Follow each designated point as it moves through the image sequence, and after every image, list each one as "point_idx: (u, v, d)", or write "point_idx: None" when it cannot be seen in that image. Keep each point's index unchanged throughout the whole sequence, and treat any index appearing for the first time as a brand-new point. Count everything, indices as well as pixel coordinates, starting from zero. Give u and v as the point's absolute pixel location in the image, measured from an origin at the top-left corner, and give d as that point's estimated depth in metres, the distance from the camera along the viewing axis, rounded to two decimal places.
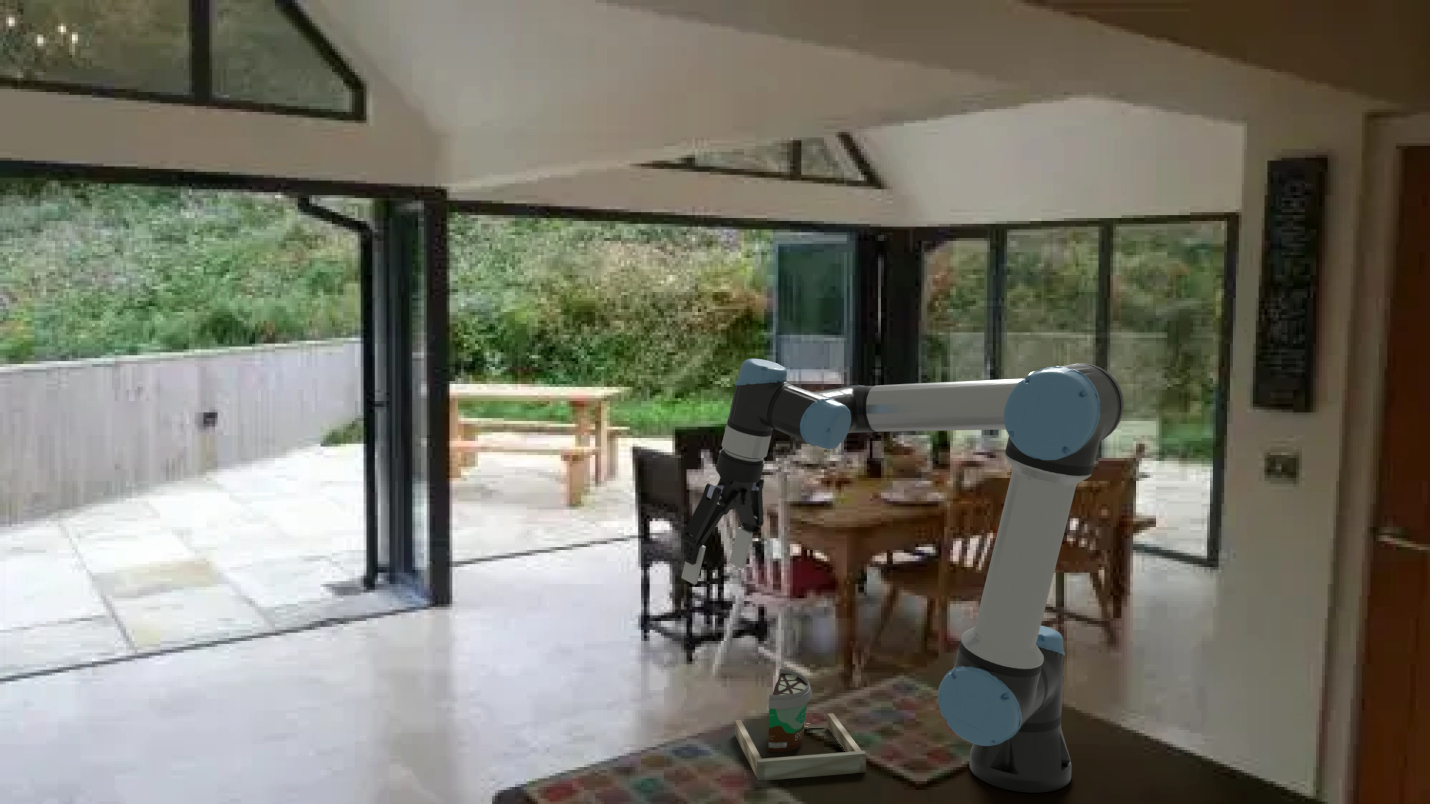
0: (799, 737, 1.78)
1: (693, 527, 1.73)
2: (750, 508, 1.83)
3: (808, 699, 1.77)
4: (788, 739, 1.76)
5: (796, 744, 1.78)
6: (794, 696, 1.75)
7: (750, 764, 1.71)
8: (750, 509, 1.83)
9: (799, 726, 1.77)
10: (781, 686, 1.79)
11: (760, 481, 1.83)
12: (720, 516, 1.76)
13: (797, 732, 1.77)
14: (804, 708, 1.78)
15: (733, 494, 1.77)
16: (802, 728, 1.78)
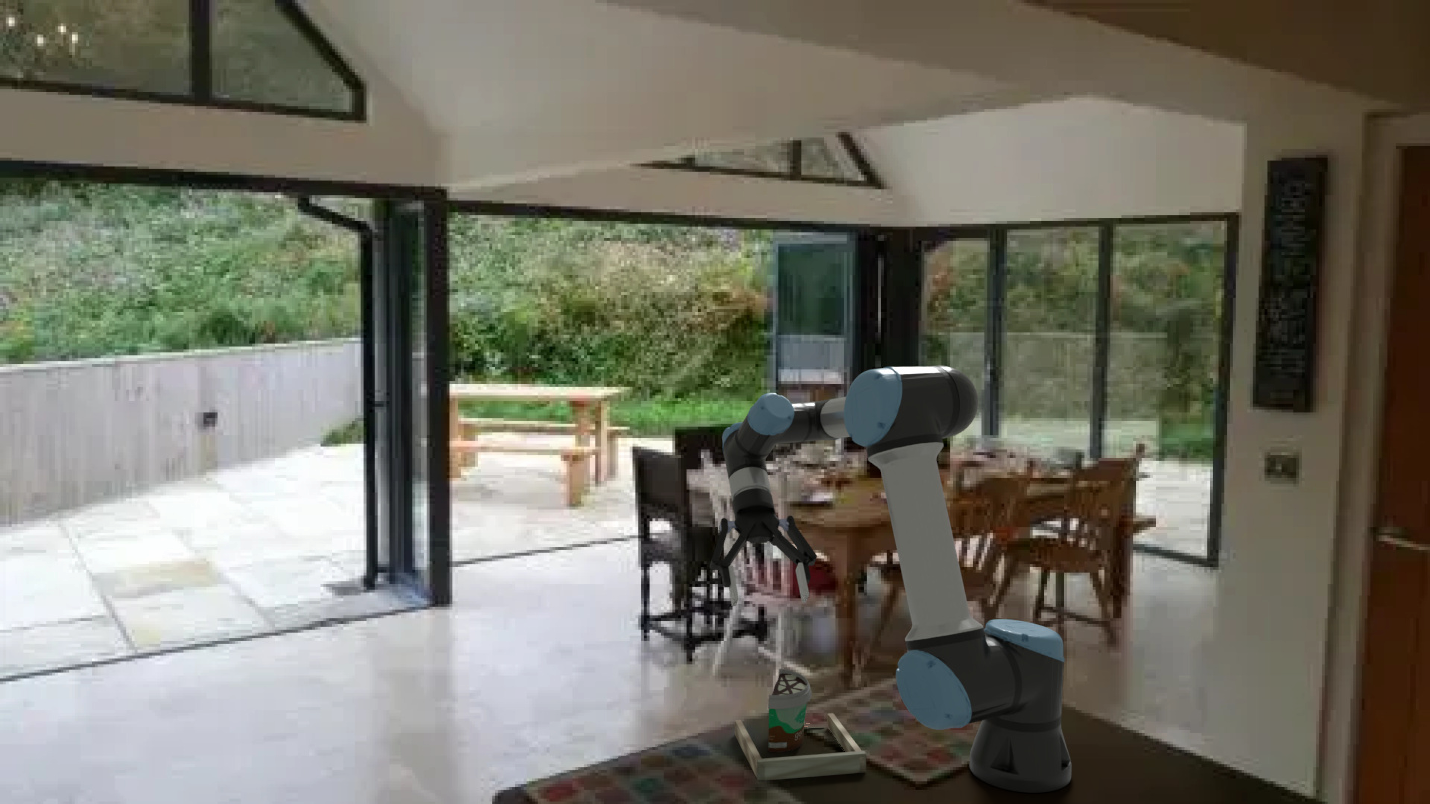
0: (799, 737, 1.78)
1: None
2: (785, 539, 1.99)
3: (808, 699, 1.77)
4: (788, 739, 1.76)
5: (796, 744, 1.78)
6: (794, 696, 1.75)
7: (750, 764, 1.71)
8: (785, 540, 1.99)
9: (799, 726, 1.77)
10: (780, 686, 1.79)
11: (787, 517, 2.02)
12: (740, 541, 1.97)
13: (797, 732, 1.77)
14: (804, 708, 1.78)
15: (747, 522, 2.00)
16: (802, 728, 1.78)
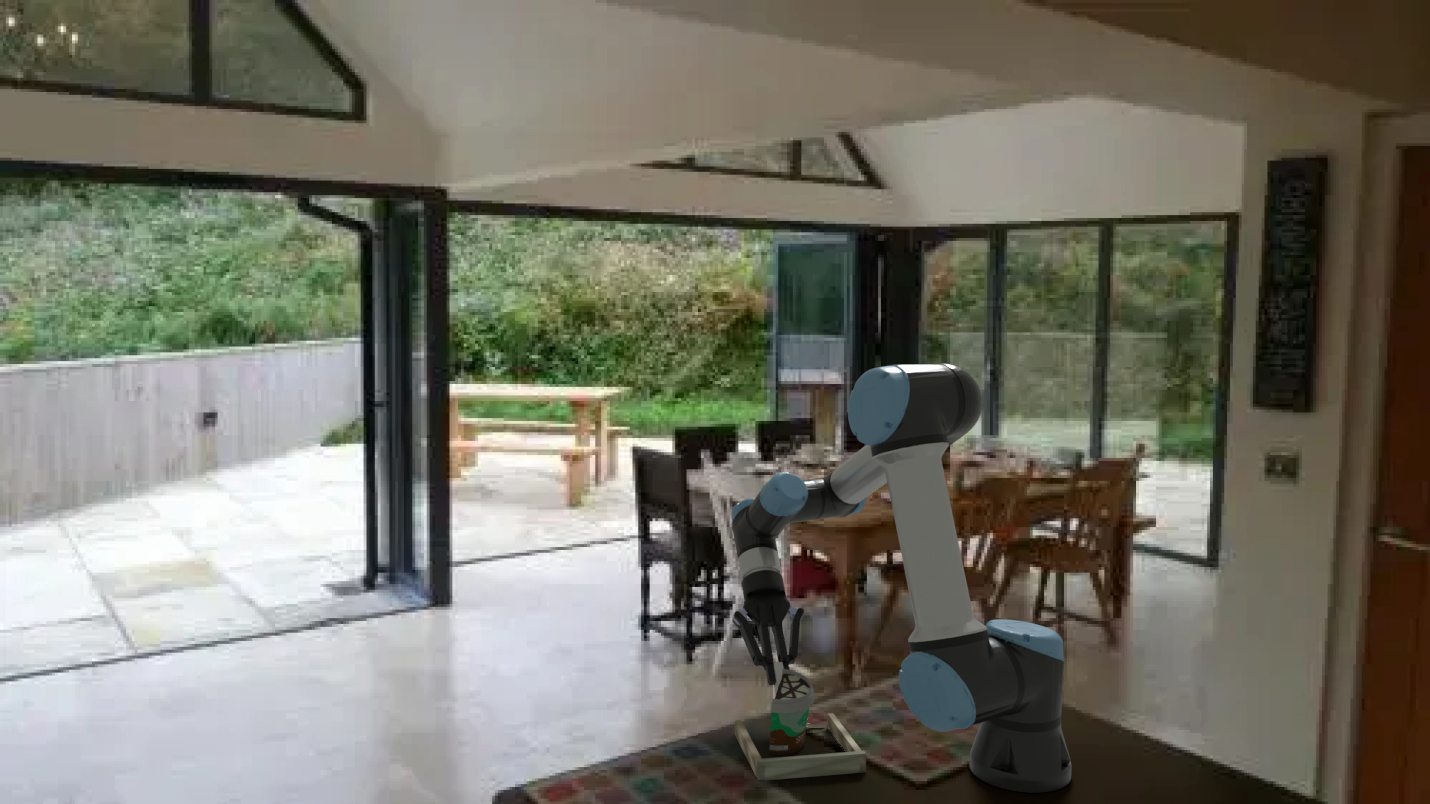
0: (800, 740, 1.77)
1: (750, 651, 1.90)
2: (781, 631, 1.91)
3: (811, 703, 1.75)
4: (789, 742, 1.75)
5: (797, 747, 1.77)
6: (797, 700, 1.73)
7: (750, 764, 1.71)
8: (781, 632, 1.91)
9: (801, 729, 1.76)
10: (784, 689, 1.77)
11: (799, 608, 1.95)
12: (765, 630, 1.91)
13: (799, 735, 1.76)
14: (806, 711, 1.76)
15: (758, 609, 1.93)
16: (804, 731, 1.77)
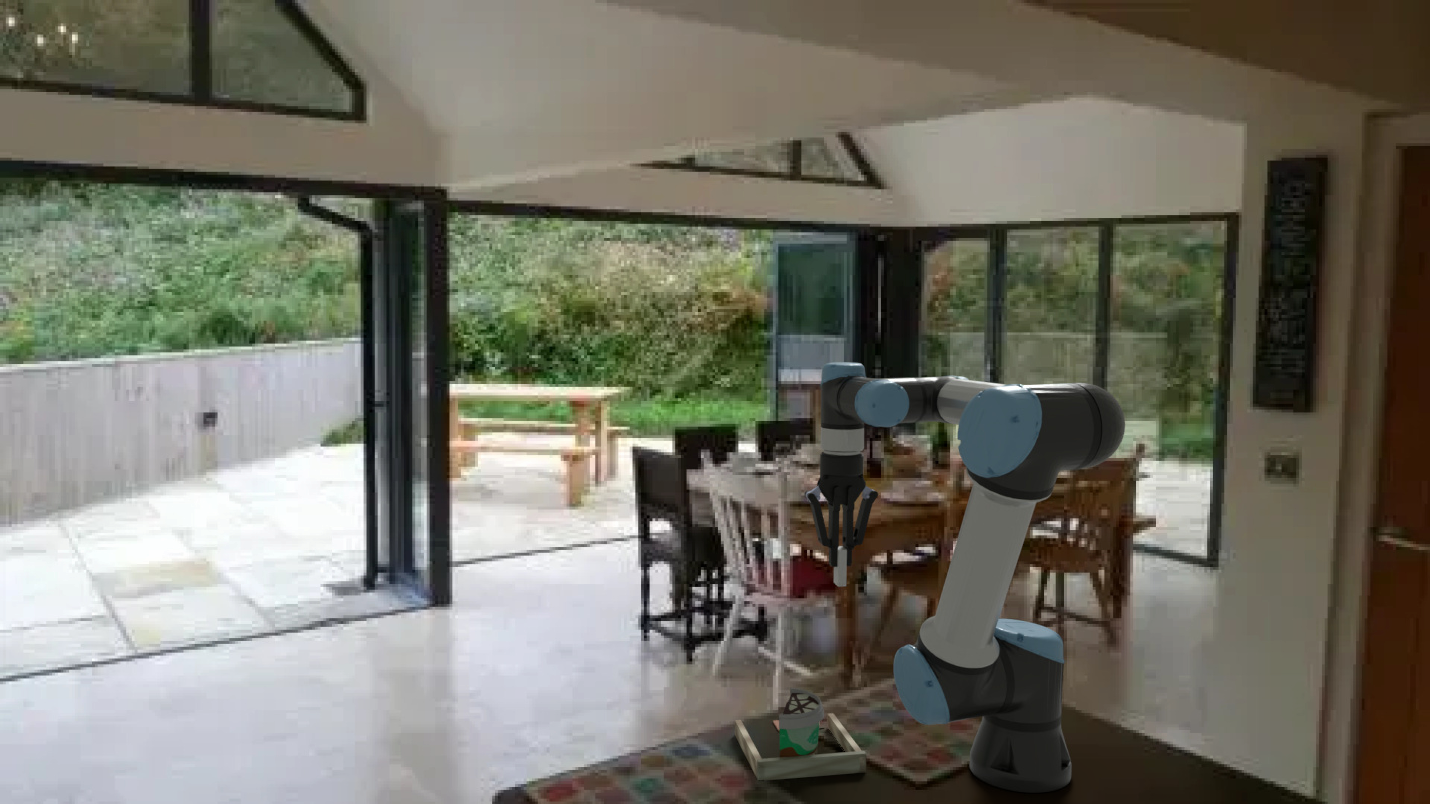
0: None
1: (818, 532, 1.91)
2: (851, 516, 1.91)
3: (820, 719, 1.69)
4: None
5: None
6: (805, 715, 1.67)
7: (750, 764, 1.71)
8: (851, 517, 1.91)
9: (812, 747, 1.69)
10: (792, 706, 1.71)
11: (873, 491, 1.91)
12: (836, 515, 1.90)
13: (810, 754, 1.69)
14: (816, 728, 1.70)
15: (833, 492, 1.89)
16: (815, 749, 1.70)
